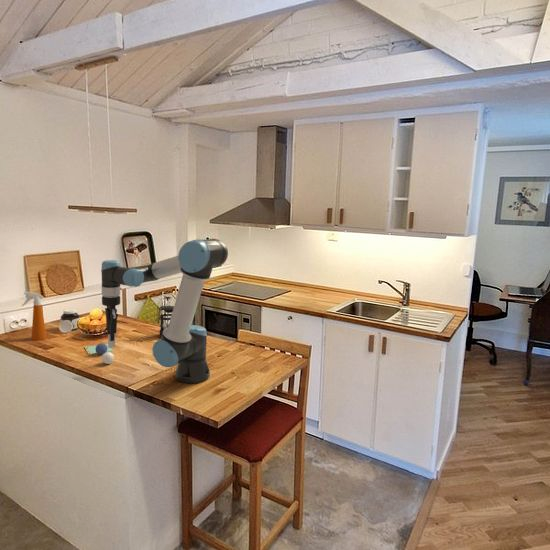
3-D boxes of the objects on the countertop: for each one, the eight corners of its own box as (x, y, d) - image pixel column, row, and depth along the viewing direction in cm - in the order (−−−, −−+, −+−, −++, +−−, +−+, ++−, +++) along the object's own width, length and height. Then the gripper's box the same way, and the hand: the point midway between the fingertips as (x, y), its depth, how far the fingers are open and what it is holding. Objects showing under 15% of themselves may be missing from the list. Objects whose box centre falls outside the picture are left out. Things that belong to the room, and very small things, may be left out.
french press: (165, 339, 230) (165, 299, 227) (154, 336, 236) (154, 297, 232) (181, 335, 240) (181, 296, 236) (170, 331, 245) (170, 294, 241)
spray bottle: (23, 338, 222) (20, 290, 218) (45, 335, 228) (43, 289, 224) (23, 342, 216) (21, 293, 212) (47, 339, 222) (44, 291, 218)
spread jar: (78, 326, 247) (77, 307, 246) (83, 331, 239) (82, 311, 237) (55, 329, 240) (55, 310, 238) (60, 334, 231) (59, 314, 229)
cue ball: (115, 364, 193) (115, 353, 192) (103, 366, 190) (102, 355, 189) (112, 360, 197) (112, 349, 196) (100, 362, 194) (100, 351, 193)
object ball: (108, 355, 204) (108, 344, 203) (96, 356, 201) (96, 346, 200) (106, 351, 208) (106, 341, 208) (94, 353, 205) (94, 342, 204)
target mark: (113, 351, 210) (113, 350, 210) (87, 354, 203) (87, 354, 203) (108, 344, 219) (108, 343, 219) (83, 347, 213) (83, 347, 213)
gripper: (123, 298, 177) (123, 350, 181) (116, 292, 187) (116, 341, 191) (105, 299, 173) (105, 353, 176) (98, 293, 183) (99, 343, 187)
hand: (111, 346), depth 184 cm, fingers closed
